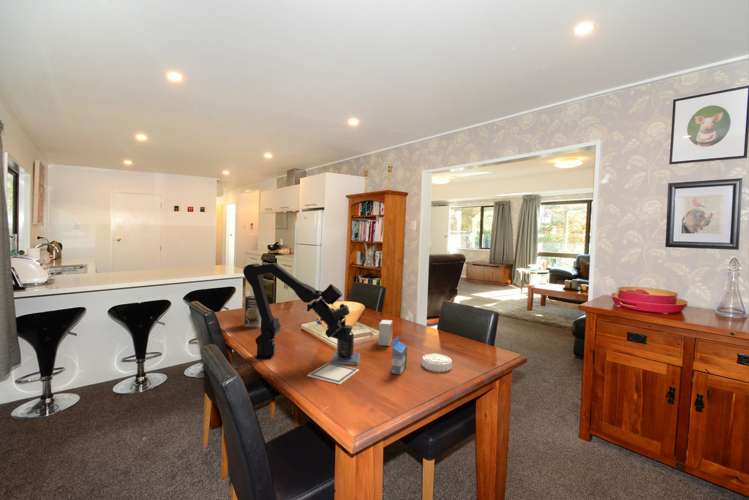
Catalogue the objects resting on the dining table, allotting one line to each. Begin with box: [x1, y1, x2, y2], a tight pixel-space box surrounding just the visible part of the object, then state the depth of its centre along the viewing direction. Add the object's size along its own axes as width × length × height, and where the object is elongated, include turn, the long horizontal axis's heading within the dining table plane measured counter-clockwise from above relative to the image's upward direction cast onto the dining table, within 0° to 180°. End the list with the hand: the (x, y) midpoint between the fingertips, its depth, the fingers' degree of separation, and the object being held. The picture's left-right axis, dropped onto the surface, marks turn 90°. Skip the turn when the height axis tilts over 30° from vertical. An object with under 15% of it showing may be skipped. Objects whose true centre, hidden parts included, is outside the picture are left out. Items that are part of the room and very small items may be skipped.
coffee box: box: [244, 295, 261, 329], centre depth 181 cm, size 9×6×16 cm
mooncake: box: [421, 352, 453, 373], centre depth 133 cm, size 12×12×4 cm
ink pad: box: [330, 351, 361, 366], centre depth 136 cm, size 11×11×1 cm
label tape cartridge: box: [390, 335, 408, 376], centre depth 127 cm, size 9×4×12 cm, turn 160°
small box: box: [378, 319, 394, 347], centre depth 159 cm, size 8×6×10 cm
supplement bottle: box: [336, 324, 355, 357], centre depth 136 cm, size 7×7×12 cm
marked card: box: [306, 362, 360, 385], centre depth 123 cm, size 14×14×1 cm
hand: (349, 339), depth 136 cm, fingers closed on supplement bottle, 7 cm apart
